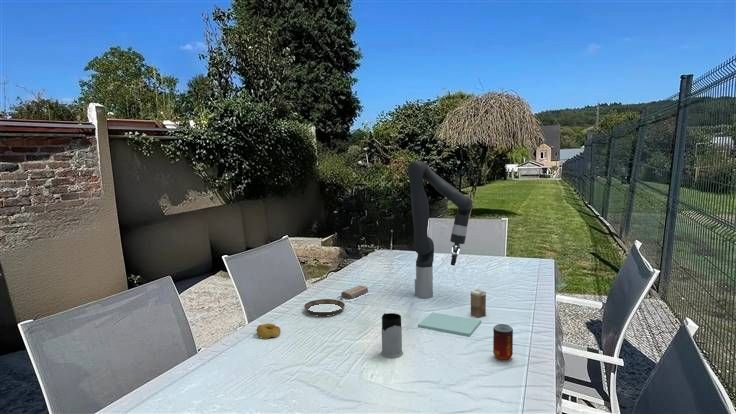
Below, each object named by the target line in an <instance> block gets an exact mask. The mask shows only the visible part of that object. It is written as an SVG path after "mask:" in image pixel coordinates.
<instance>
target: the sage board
mask: <svg viewBox="0 0 736 414" xmlns="http://www.w3.org/2000/svg"><path fill="white" fill-rule="evenodd" d="M481 324H482V319H478V318H477V319H476V318H471V317H470V318H469V317H463V316H457V315H450V314H445V313H439V312H433V311H432V312H431V313H430V314H429V315H427V316H426V317H425V318H423V320H421V321H420V322H419V323H418V324H417V328H420V327H422V328H421V329H426V328H427V329H428V330H431V329H433V331H437V332H443V333H448V334H453V335H460V336H466V337H471V336H472V334H473V333H474V332H475V331H476V330H477V329H478V328H479V326H480V325H481Z"/></svg>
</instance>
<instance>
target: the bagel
mask: <svg viewBox="0 0 736 414" xmlns="http://www.w3.org/2000/svg"><path fill="white" fill-rule="evenodd" d="M256 334H257V336H259V337H258V338H260V337H262V338H261V339H263V338H268V339H271V338H270V337H276V338H278V337H279V336H280V335H281V334H282V333H281V328H280V326H277V325H276V324H274V323H264V324H258V325H257V328H256ZM277 336H278V337H277Z"/></svg>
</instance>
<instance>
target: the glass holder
mask: <svg viewBox="0 0 736 414" xmlns="http://www.w3.org/2000/svg"><path fill="white" fill-rule="evenodd" d="M402 331H403V327H402V316H401V314H399V313H396V312H395V313H394V312H392V313H391V312H389V313H386V312H384V313H383V314H382V316H381V352H380V355H381V356H382V357H384V358H386V359H398V358H400V357H402V356H403V355H404V352H403V334H402V333H403V332H402Z"/></svg>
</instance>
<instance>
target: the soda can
mask: <svg viewBox="0 0 736 414" xmlns="http://www.w3.org/2000/svg"><path fill="white" fill-rule="evenodd" d="M492 329H493V330H492V331H493V337H492V338H493V339H492V341H493V342H492V344H493V347H492V348H493V349H492V350H493V351H492V352H493V355H494V357H495V359H496V360H498V361H501V362H508V361H510V360H512V359H511V358H512V356H513V355H514V354H513V353H514V352H513V351H514V350H513V349H514V348H513V345H514V343H513V342H514V339H513V338H514V329H513V327H511V326H510V325H508V324H504V323H500V324H499V323H498V324H496V325H494V326H493V328H492Z"/></svg>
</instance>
